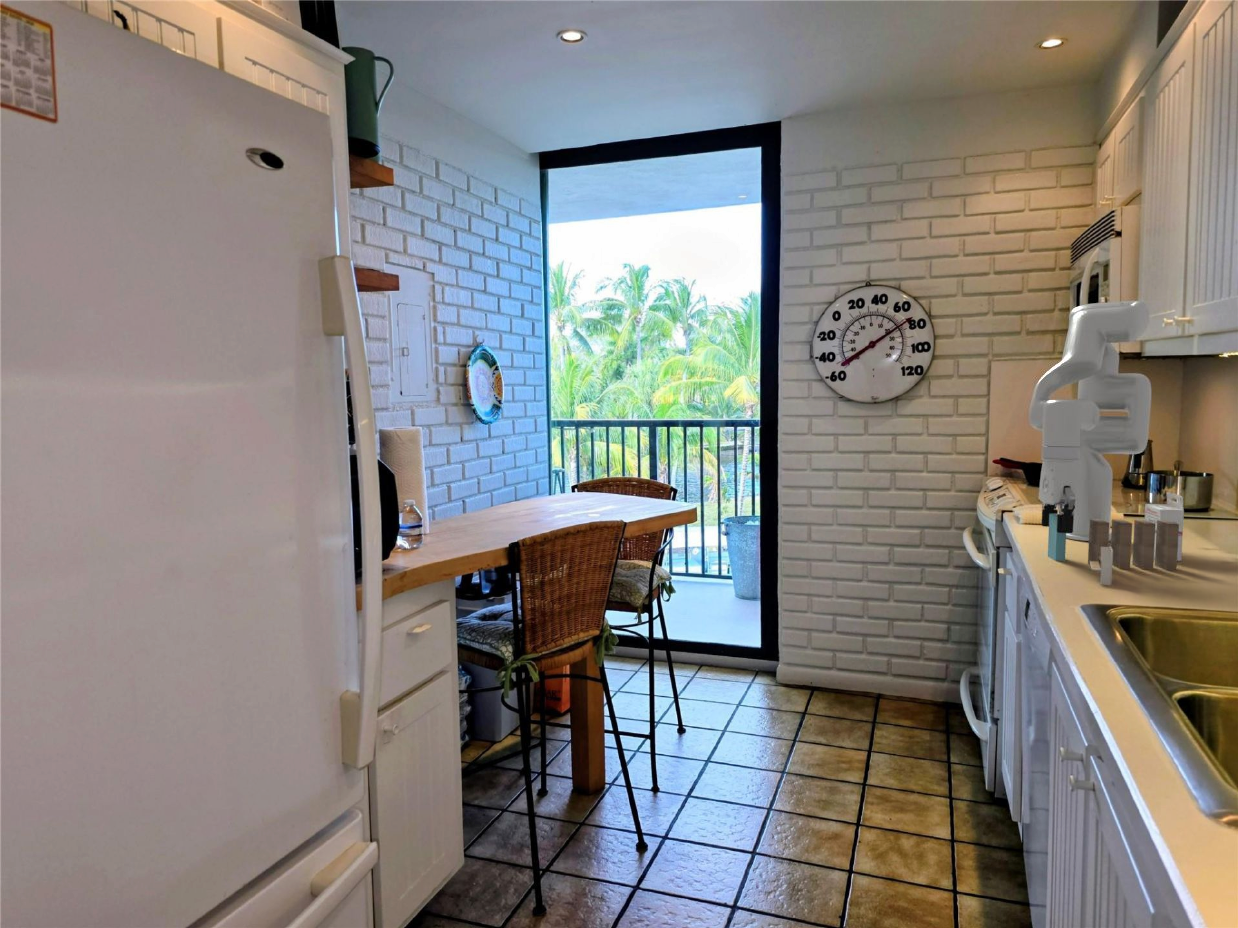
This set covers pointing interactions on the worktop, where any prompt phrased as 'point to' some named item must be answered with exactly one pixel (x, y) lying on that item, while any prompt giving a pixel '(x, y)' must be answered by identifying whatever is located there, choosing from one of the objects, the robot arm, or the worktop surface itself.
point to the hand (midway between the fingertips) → (1056, 529)
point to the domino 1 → (1056, 540)
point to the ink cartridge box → (1167, 516)
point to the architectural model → (1104, 565)
